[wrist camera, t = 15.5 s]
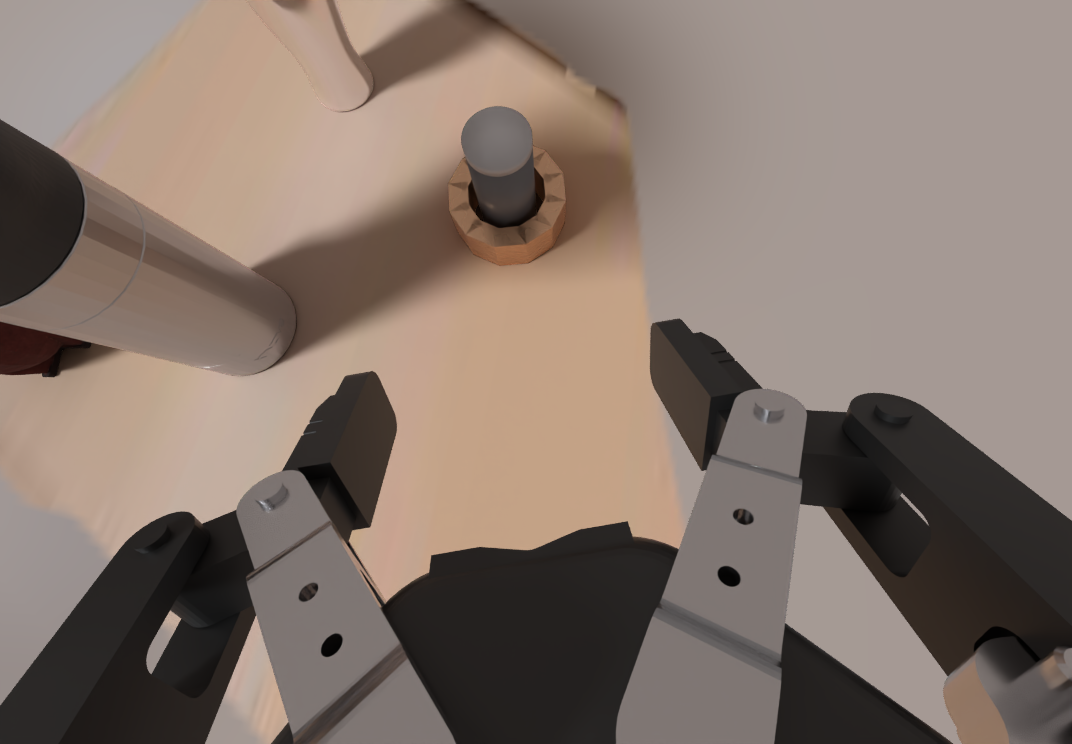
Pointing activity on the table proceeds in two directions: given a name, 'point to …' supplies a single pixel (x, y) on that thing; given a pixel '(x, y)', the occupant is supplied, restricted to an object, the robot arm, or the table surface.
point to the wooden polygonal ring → (518, 240)
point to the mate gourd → (32, 350)
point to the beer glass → (319, 49)
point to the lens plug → (501, 165)
